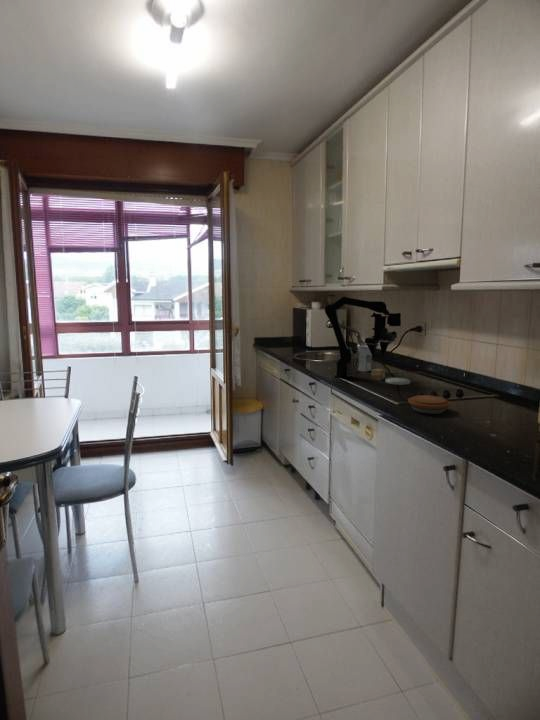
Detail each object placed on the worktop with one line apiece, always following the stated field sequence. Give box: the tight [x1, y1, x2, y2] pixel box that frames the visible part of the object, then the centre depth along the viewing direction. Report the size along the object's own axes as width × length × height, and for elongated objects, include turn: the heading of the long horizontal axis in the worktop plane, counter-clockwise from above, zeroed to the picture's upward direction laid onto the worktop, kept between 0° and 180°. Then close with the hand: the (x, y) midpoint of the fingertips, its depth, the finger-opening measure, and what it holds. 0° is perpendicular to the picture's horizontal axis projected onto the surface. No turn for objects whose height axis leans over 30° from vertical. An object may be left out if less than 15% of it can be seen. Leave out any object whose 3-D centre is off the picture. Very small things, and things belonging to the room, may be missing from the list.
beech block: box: [370, 368, 386, 381], centre depth 233 cm, size 5×5×5 cm
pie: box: [407, 394, 451, 415], centre depth 172 cm, size 16×16×5 cm
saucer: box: [384, 377, 411, 386], centre depth 224 cm, size 12×12×1 cm
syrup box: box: [357, 344, 373, 373], centre depth 255 cm, size 6×6×14 cm
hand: (378, 356), depth 232 cm, fingers open, 9 cm apart
